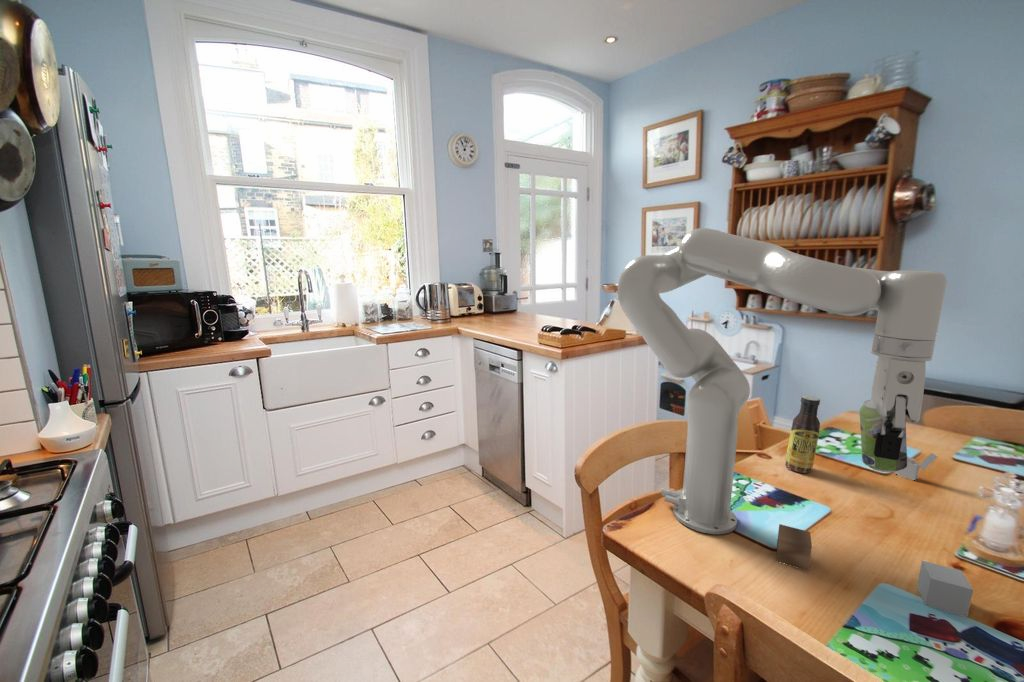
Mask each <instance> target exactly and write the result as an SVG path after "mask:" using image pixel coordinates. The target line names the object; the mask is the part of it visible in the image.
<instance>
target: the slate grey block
mask: <svg viewBox="0 0 1024 682" xmlns="http://www.w3.org/2000/svg"><path fill="white" fill-rule="evenodd" d="M916 587H917V589H918V591H919V594H920V597H921V599H922V600H923V603H924V606H927V607H931V608H933V609H937V610H941V611H945V612H948V613H951V614H954V615H958V616H961V617H964V618H968V615H969V610H970V607H971V601H972V597H973V594H974V589H973V586H972V585H971V584H970V582H969V580H968V579H967V577H966V575H965V574H964V572H963V570H960V569H957V568H953V567H949V566H944V565H941V564H937V563H934V562H933V563H932V562H929V561H926V560H921V564H920V569H919V573H918V579H917V583H916Z"/></svg>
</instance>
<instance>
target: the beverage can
mask: <svg viewBox="0 0 1024 682" xmlns="http://www.w3.org/2000/svg"><path fill="white" fill-rule="evenodd" d="M862 404H863V405H862V406H861V407H860V408H859V423H860V424H859V425H860V426H859V427H860V444H861V445H860V447H861V462H862V463H863V464H864V465H866V466H867V467H868V468H870V469H872V470H874V471H878V472H881V473H895V472H898V471H900V470H902V469H904V468H906V467H907V457H908V449H907V448H908V447H907V445H908V444H907V422H906V421H907V417H906V418H905V428H904V432H903V437H902V444H901V449H900V454H899V459H898V460H892V459H886V458H881V457H876V456H875V455H874V448H875V442H876V436H877V433H880V426H881V419H882V417H881V416H880V415H879V414H878V412H877V411H876V407H875V406H874V404H873V402H872V400H871V399H868V400H865V401H863V403H862ZM887 414H888V416H890V417H893V414H890V413H887ZM888 423H892V421H887V424H888ZM886 426H887V425H886Z"/></svg>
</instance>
